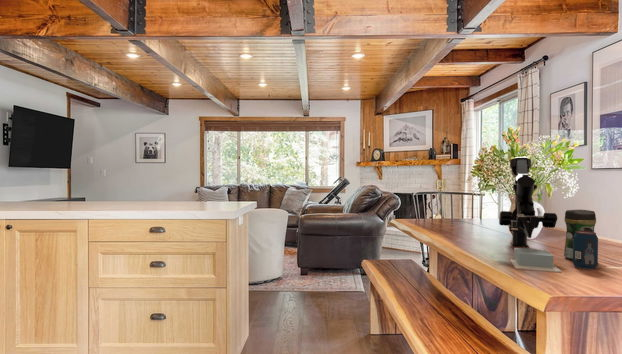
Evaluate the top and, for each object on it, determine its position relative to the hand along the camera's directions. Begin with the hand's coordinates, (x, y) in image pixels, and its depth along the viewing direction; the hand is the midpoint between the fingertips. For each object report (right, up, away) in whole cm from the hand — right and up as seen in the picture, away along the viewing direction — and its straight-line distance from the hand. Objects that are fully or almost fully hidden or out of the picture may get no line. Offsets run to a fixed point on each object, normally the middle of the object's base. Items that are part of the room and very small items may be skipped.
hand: (529, 237), depth 144 cm
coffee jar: (+21, -9, +4) cm, 23 cm away
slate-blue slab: (0, -6, 0) cm, 6 cm away
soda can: (+14, -9, -9) cm, 19 cm away
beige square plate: (-3, -9, -8) cm, 12 cm away
